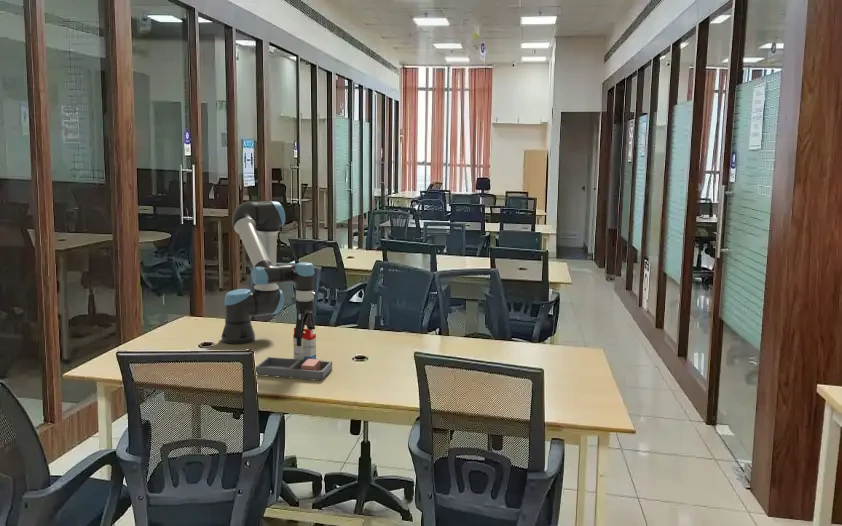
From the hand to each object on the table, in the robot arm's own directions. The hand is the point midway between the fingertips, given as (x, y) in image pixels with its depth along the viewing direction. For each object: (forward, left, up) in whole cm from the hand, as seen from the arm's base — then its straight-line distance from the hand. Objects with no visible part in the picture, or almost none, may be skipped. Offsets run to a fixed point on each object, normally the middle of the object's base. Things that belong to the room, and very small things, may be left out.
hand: (304, 348), depth 289 cm
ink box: (0, 0, -6) cm, 6 cm away
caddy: (+1, -16, -5) cm, 17 cm away
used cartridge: (+8, -16, -5) cm, 19 cm away
